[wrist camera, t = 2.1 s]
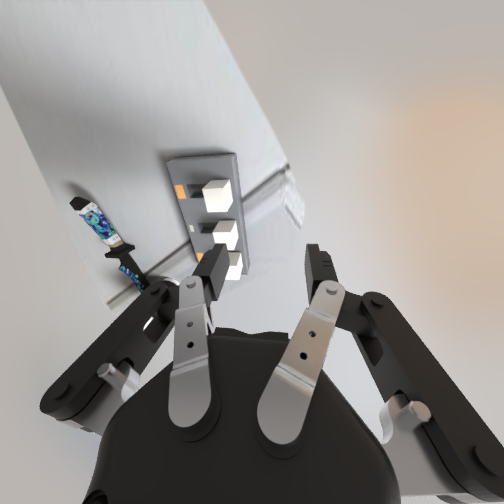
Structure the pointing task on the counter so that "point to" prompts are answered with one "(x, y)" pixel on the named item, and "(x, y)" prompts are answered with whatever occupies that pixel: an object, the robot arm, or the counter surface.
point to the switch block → (193, 203)
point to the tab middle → (226, 233)
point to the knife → (110, 240)
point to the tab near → (218, 195)
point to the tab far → (234, 266)
